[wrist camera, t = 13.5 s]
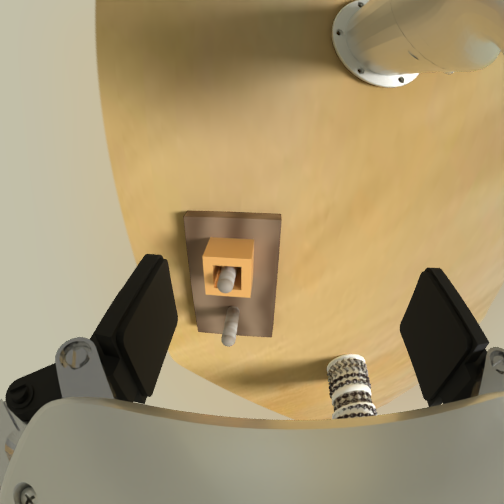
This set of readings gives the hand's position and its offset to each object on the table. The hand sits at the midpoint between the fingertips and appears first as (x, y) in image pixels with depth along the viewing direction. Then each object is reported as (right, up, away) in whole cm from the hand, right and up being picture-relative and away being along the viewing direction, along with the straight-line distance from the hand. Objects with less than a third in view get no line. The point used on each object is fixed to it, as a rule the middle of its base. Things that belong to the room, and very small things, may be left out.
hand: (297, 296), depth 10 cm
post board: (-4, -2, +35) cm, 35 cm away
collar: (-4, +1, +31) cm, 31 cm away
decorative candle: (+18, -22, +45) cm, 54 cm away
